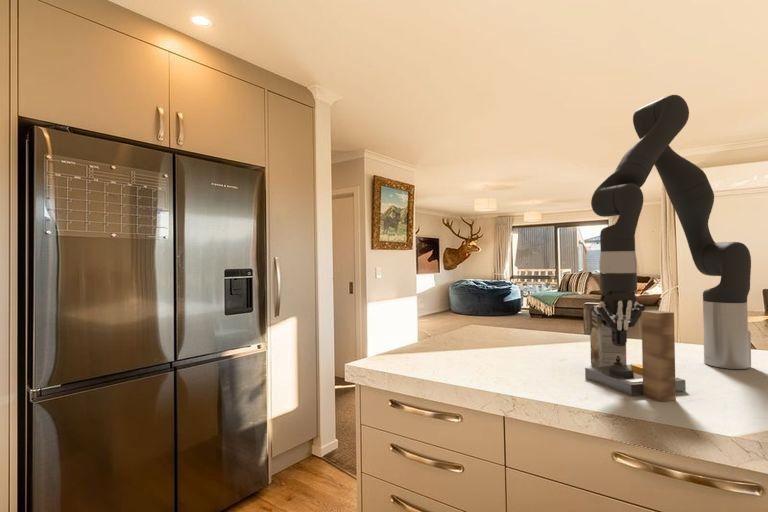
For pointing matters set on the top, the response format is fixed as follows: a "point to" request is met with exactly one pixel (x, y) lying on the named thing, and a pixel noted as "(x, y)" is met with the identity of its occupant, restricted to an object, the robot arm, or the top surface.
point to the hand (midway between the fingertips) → (619, 345)
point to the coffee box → (604, 345)
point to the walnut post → (658, 355)
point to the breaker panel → (624, 378)
